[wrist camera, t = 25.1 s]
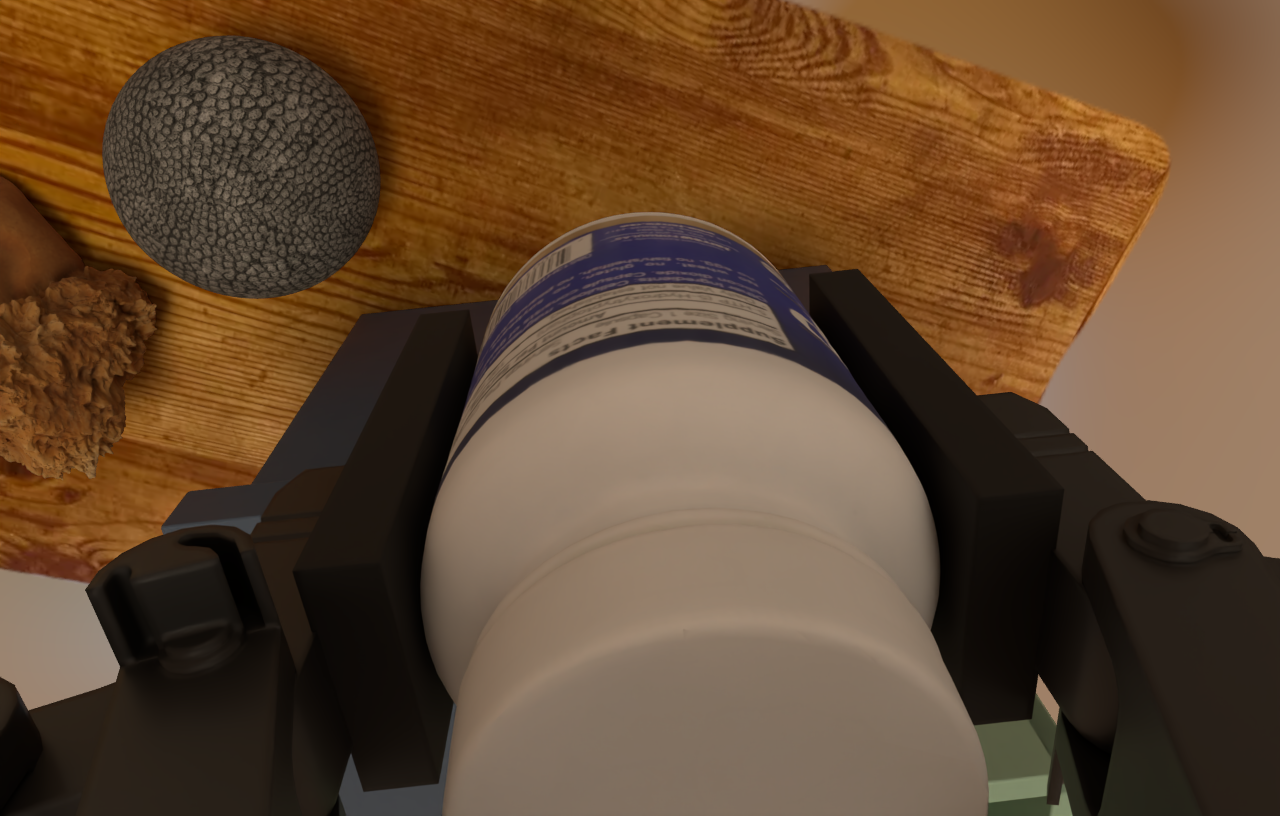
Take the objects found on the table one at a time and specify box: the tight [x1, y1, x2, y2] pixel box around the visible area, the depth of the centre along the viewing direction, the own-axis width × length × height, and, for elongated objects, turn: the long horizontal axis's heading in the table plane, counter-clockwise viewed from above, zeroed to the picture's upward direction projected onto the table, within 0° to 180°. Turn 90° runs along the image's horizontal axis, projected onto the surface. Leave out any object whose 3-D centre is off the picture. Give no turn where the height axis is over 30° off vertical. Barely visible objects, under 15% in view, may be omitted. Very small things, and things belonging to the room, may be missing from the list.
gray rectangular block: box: [161, 265, 832, 816], centre depth 37 cm, size 25×14×20 cm, turn 95°
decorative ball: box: [103, 36, 380, 299], centre depth 35 cm, size 10×10×10 cm
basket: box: [974, 694, 1073, 816], centre depth 24 cm, size 19×11×10 cm, turn 95°
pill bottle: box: [420, 212, 989, 816], centre depth 10 cm, size 5×5×9 cm
